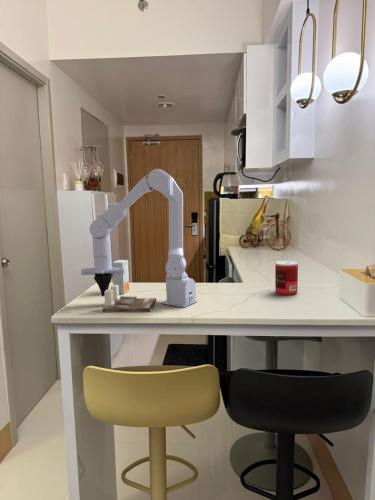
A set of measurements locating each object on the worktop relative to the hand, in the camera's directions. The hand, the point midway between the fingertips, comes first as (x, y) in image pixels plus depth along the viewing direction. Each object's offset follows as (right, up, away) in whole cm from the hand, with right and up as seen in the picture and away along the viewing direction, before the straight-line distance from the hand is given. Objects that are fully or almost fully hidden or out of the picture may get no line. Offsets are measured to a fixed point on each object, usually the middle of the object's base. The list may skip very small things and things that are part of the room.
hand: (104, 295), depth 124 cm
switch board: (+9, -3, -4) cm, 10 cm away
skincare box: (+3, -1, +15) cm, 16 cm away
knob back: (+4, -1, 0) cm, 4 cm away
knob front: (+3, -2, -6) cm, 7 cm away
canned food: (+63, 0, +7) cm, 64 cm away
